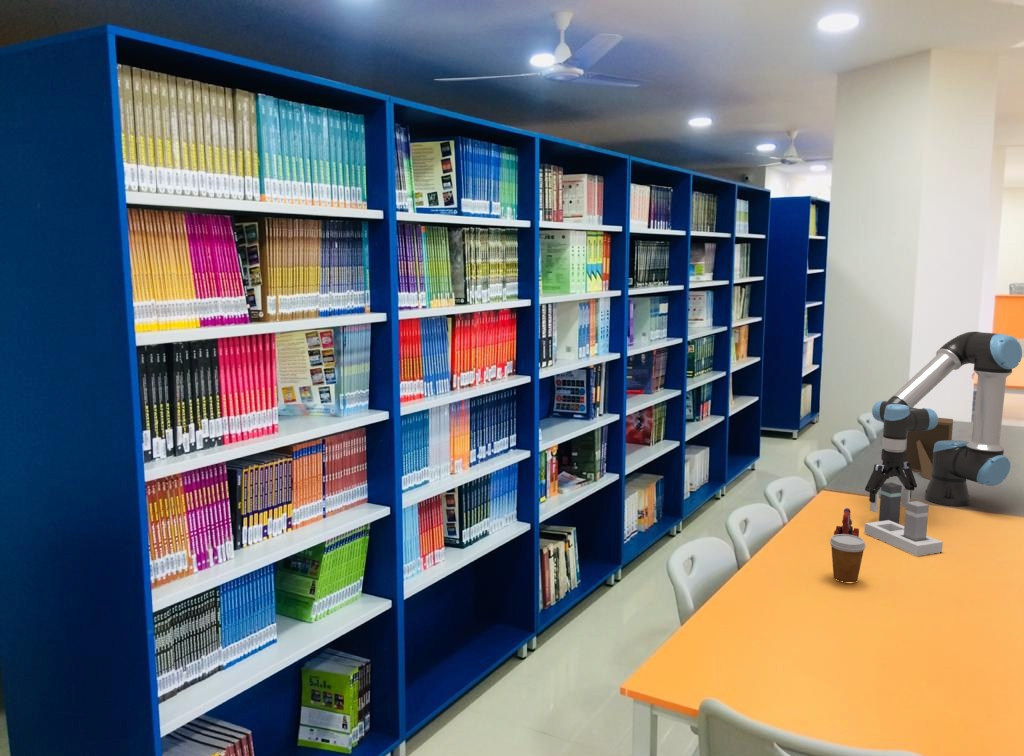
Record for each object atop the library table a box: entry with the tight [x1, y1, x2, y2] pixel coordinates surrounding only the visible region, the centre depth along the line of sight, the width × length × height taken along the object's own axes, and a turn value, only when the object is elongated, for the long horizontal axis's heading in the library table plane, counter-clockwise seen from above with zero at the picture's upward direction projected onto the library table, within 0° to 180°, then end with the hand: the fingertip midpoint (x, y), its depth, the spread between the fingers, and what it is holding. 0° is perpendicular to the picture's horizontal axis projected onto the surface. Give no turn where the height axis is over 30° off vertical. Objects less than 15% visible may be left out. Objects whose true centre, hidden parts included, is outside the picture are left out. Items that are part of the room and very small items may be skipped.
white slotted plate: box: [863, 520, 944, 557], centre depth 254 cm, size 10×22×4 cm, turn 18°
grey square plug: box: [903, 500, 930, 542], centre depth 248 cm, size 5×5×14 cm
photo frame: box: [902, 417, 954, 481], centre depth 332 cm, size 15×22×25 cm
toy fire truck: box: [833, 508, 860, 537], centre depth 255 cm, size 7×12×10 cm, turn 152°
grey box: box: [878, 482, 903, 524], centre depth 271 cm, size 5×5×14 cm
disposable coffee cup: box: [829, 534, 867, 583], centre depth 224 cm, size 10×10×12 cm
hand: (889, 509), depth 271 cm, fingers open, 13 cm apart
